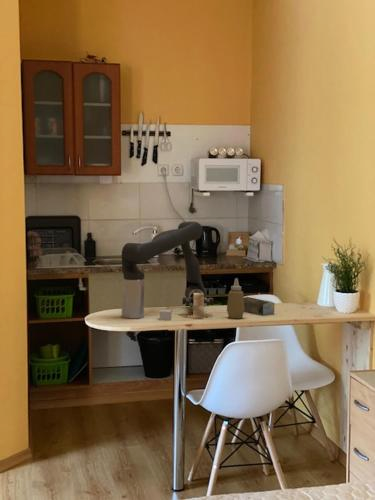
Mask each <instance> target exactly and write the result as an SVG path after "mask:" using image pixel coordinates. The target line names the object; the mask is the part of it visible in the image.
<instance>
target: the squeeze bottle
mask: <svg viewBox="0 0 375 500" xmlns="http://www.w3.org/2000/svg"><path fill="white" fill-rule="evenodd" d="M244 310H245V309H244V291H242V286H240V284H239V279H238V277H237V278H234V282H233V285H231V286H230V291H228V297H227V305H226V312H227V315H228V318H230V319H233V320H234V319H237V320H239V319H242V318H243V315H244V313H245V312H244Z"/></svg>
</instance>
